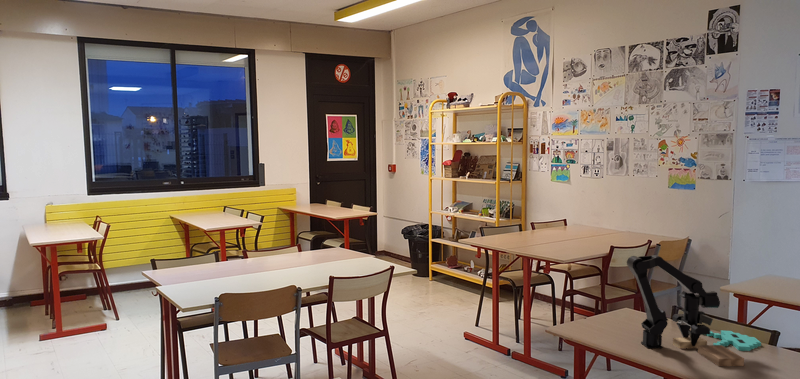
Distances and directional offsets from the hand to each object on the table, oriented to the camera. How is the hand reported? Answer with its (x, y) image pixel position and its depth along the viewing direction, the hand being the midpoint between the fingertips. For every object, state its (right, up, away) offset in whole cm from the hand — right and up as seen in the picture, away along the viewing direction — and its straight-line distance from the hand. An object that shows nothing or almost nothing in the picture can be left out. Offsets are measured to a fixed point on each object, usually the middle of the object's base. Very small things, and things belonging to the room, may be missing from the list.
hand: (689, 343), depth 233 cm
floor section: (+5, -2, -14) cm, 15 cm away
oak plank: (0, -1, 0) cm, 1 cm away
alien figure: (+21, -1, +5) cm, 21 cm away
